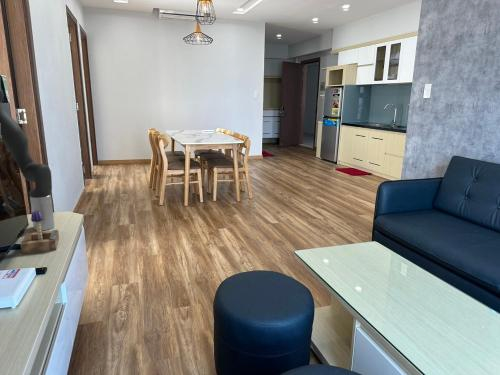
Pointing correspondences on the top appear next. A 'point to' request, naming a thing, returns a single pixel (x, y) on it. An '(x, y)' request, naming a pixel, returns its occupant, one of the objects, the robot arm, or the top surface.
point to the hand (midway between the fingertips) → (15, 209)
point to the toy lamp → (37, 222)
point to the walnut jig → (40, 242)
